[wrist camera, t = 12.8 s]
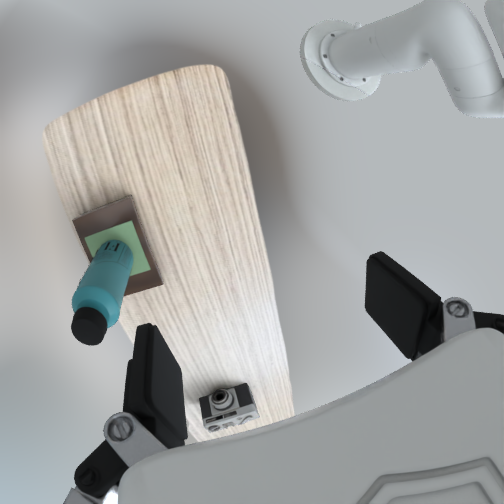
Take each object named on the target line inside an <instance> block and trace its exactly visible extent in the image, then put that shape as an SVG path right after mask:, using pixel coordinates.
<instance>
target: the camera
mask: <svg viewBox="0 0 504 504" xmlns="http://www.w3.org/2000/svg"><path fill="white" fill-rule="evenodd" d="M199 400H200V407H201V413H202V419H203V425H204V428H205V429H206V430H208V431H209V432H210V433H211V432H214V431H218V430H222V429H225V428H226V429H227V427H229V426H235V425H240V424H244V423H246V422H247V421H250V420H253V419H256V418H259V417H260V416H259V413H258V411H257V408H256V404H255V401H254V398H253V395H252V392H251V390H250V388H249V386H248V385H247V383H244V384H242V385H239V386H236V387H233V388H230V389H227V390H225V389H219V390H216V391H214V392H213V394H212V395H208V396H205V397H202V398H199Z"/></svg>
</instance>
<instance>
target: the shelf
mask: <svg viewBox="0 0 504 504" xmlns="http://www.w3.org/2000/svg"><path fill="white" fill-rule="evenodd" d="M72 221H73V223H74V226H75V228H76V231H77V233H78V236H79V238H80V240H81V243H82V245H83V247H84V250H85V252H86V254H87V256H88V258H89V261H90V263H91V262H92V258H93V257H95V255H96V254H95V253H96V251H97V249H98V250H99V248H100V247H101V245H102V244H103V243H105V241H106V242H107V241H109V240H120V241H122V242H124V243H125V244H127V245H128V246H129V248H130V249H131V251H132V253H133V265H134V266H133V265H132V269H131V270H132V271H131V272H130V276H129V279H128V284H127V286H126V289H125V290H126V291H125V292H124V296H126V295H130V294H133V293H136V292H140V291H143V290H146V289H150V288H153V287H156V286H160V285H163V279H162V276H161V273H160V271H159V268H158V266H157V264H156V261H155V259H154V256H153V254H152V251H151V249H150V246H149V244H148V241H147V238H146V236H145V233H144V230H143V227H142V225H141V222H140V219H139V216H138V213H137V210H136V207H135V205H134V201H133V198H132V195H131V196H128V197H125V198H122V199H119V200H117V201H114V202H111V203H109V204H106V205H104V206H101V207H98V208H96V209H93V210H91V211H88V212H86V213H83V214H81V215H80V216H78V217H76V218H74V219H73V220H72Z"/></svg>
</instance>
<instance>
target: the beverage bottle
mask: <svg viewBox="0 0 504 504" xmlns="http://www.w3.org/2000/svg"><path fill="white" fill-rule="evenodd" d="M95 254H96V255H95V257H93V258H92V262H91V264H90V265H89V267H88V269H87V271H86V272H85V274H84V276H83V278H82V280H81V281H80V283H79V286H78V288H77V290H76V291H75V293H74V295H73V298H72V308H73V311H74V313H75V314H74V316H73V321H72V325H71V329H72V333H73V335H74V336H75V338H76V339H77V340H78V341H80V342H81V343H84V344H86V345H97V344H99V343H101V342H102V340H103V338H104V335H105V334H106V331H107V328H109V327H111V326H113V325H114V324H115V323H116V322H117V320H118V318H119V315H120V308H121V304H122V300H123V296H124V292H125V291H126V290H125V289H126V286H127V284H128V279H129V276H130V272H131V271H132V270H131V269H132V265H133V253H132V251H131V249H130V248H129V246H128V245H127V244H125V243H124V242H122V241H120V240H109V241H107V242H106V241H105V243H103V244H102V245H101V247H100V248H99V250H98V249H97V251H96V253H95ZM133 266H134V265H133Z"/></svg>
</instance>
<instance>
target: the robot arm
mask: <svg viewBox="0 0 504 504" xmlns="http://www.w3.org/2000/svg"><path fill="white" fill-rule="evenodd" d="M484 8H485V14H486V17H487V19H488V22H489V24H490V26H491V29H492V31H493V34H494V36H495V38H496V40H497V43H498V45H499V48H500V50H501V52H502V55H503V58H504V0H488V1H486V3H485V6H484ZM361 26H362V25H361V24H360V23H355V25H354V29H352V30H350V31H344V30H336V31H333V32H330V33H328V34H327V35H325V36H324V37H323V39H322V40H321V42H320V45H319V58H320V62H321V64H322V66H323V68H324V69H325V71H326V72H327V74H328V75H329V76H330V77H331V78H332V79H333V80H335V81H336V82H338V83H339V84H342V85H344V86H348V87H357V86H361V85H364V84H366V83H367V82H368V81H369V80H370V78H371V77H372V76H377V75H383V74H391V73H399V72H407V71H415V70H418V69H420V68H422V67H424V66H425V65H426V64H427V63H428V61H429V60H430V58H432V60H433V61H434V63H435V65H436V66H437V68H438V70H439V72H440V74H441V76H442V78H443V80H444V83H445V85H446V87H447V89H448V92H449V94H450V96H451V98H452V100H453V102H454V104H455V106H456V107H457V108H458V110H459V111H461V112H462V113H463V114H465V115H468V116H471V117H478V118H504V78H502V76H501V73H500V70H499V67H498V65H497V62H496V60H495V57H494V54H493V52H492V49H491V47H490V44H489V42H488V40H487V38H486V36H485V34H484V31H483V29H482V27H481V25H480V24H479V22H478V20H477V19H476V17H475V16H474V15H473V13H472V11H470V9H469V8H468V7H467V6H466V5H465V4H464V3H463V2H462V1H460V0H424V1H423V2H421V3H419V4H417V5H415V6H413V7H411V8H409V9H407V10H405V11H402V12H400V13H397V14H395V15H392V16H389V17H386V18H384V19H381V20H379V21H376V22H373V23H371V24H368V25H365V26H363V27H361ZM323 56H324V57H323ZM365 309H366V311H367V313H368V314H369V315H370V316H371V318H373V320H374V321H375V322H376V323H377V324H378V325H379V326H380V328H381V329H382V330H383V331H384V332H385V333H386V335H387V336H388V337H389V338H390V339H391V340H392V341H393V343H394V344H395V345H396V346H397V347H398V349H399V350H400V351H401V352H402V353H403V354H404V356H405V357H406V358H408V359H411V360H412V361H413V362H411V363H409V364H407V365H406V366H404V367H402V368H400V369H399V370H397V371H395V372H393V373H391V374H390V375H388V376H386V377H384V378H382V379H380V380H378V381H376V382H374V383H372V384H370V385H368V386H366V387H364V388H362V389H360V390H358V391H356V392H353V393H351V394H349V395H347V396H344V397H342V398H340V399H337V400H335V401H333V402H331V403H328V404H325V405H323V406H321V407H318V408H315V409H313V410H310V411H308V412H305V413H302V414H300V415H296V416H294V417H291V418H288V419H285V420H282V421H279V422H276V423H272V424H269V425H266V426H263V427H259V428H256V429H252V430H248V431H245V432H241V433H237V434H233V435H229V436H225V437H221V438H217V439H212V440H208V441H203V442H198V443H194V444H189V445H185V442H184V440H185V439H187V438H188V435H187V426H186V416H185V406H184V395H183V382H182V372H181V368H180V366H179V364H178V363H177V361H176V359H175V357H174V356H173V354H172V352H171V351H170V349H169V347H168V345H167V344H166V342H165V340H164V338H163V336H162V335H161V333H160V331H159V329H158V327H157V326H156V325H154V326H153V325H152V324H151V323H147V324H143V325H139V326H137V330H136V336H135V343H134V351H133V359H131V360H129V362H128V366H127V375H126V383H125V392H124V403H123V412H119V413H116V414H114V415H112V416H111V417H110V418H109V419H108V420H107V421H106V423H105V425H104V430H103V431H104V436H105V438H106V440H105V441H104V442H102V443H101V445H100V446H99V447H98V448H97V449H95V450H94V451H93V452H92V453H91V454H90V455H89V456H88V457H87V458H86V459H85V460H84V461H83V462H82V463H81V464H80V465H79V466H78V468H77V469H76V471H75V475H74V480H75V484H76V487H75V489H73V488H71V490H70V492H69V494H68V496H67V498H66V499H65V501H64V503H63V504H504V315H501V314H492V313H483V312H475V311H472V307H471V305H470V304H469V303H468V302H467V301H466V300H464V299H461V298H458V297H452V298H449V299H447V300H445V301H444V303H443V302H441V297H440V296H438V295H437V294H436V293H435V292H434V291H433V290H431V289H430V288H429V287H428V286H426V285H425V284H424V283H423V282H421V281H420V280H419V279H417V278H416V277H415V276H414V275H412V274H411V273H410V272H409V271H407V270H406V269H405V268H404V267H402V266H401V265H400V264H398V263H397V262H396V261H394V260H393V259H392V258H390V257H389V256H388V255H386V254H385V253H384V252H381V251H380V252H377V253H375V254H372V255H370V257H369V259H368V260H367V268H366V293H365Z"/></svg>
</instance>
